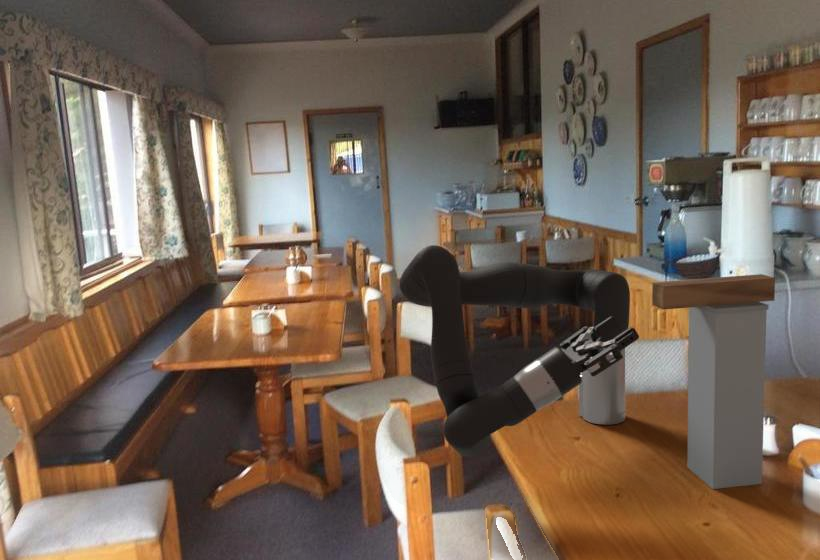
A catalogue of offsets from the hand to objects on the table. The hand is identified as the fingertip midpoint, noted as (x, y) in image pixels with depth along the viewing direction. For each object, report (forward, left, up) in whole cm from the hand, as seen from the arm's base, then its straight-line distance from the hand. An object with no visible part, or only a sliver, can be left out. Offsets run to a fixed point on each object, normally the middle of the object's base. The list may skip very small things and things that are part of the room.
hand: (625, 326), depth 123 cm
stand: (+9, +16, -29) cm, 34 cm away
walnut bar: (+8, +14, +3) cm, 16 cm away
